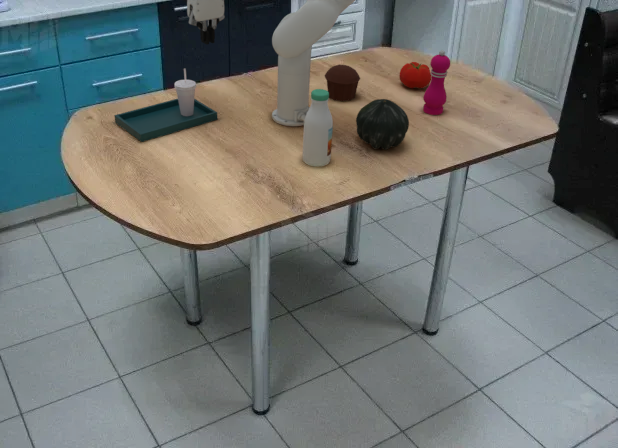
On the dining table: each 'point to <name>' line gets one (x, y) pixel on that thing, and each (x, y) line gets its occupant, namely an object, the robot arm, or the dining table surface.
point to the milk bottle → (318, 130)
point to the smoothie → (185, 95)
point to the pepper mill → (436, 85)
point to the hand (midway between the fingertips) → (207, 42)
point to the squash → (382, 124)
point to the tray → (163, 119)
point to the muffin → (342, 82)
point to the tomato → (415, 75)
